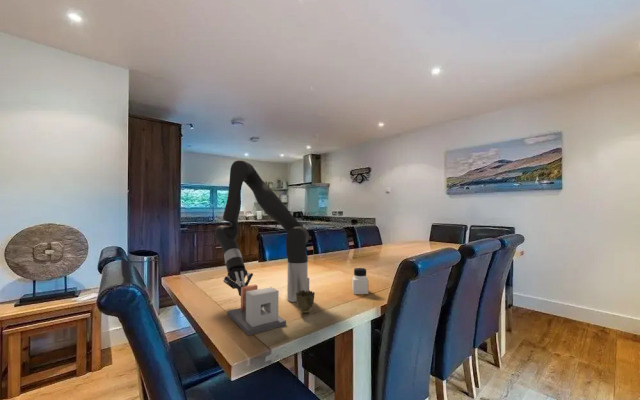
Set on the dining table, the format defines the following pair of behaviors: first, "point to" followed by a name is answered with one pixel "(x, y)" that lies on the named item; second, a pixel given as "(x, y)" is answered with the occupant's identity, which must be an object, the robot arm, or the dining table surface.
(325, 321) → the dining table surface
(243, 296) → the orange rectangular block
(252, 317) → the peg hole fixture
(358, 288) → the medicine bottle
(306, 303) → the cup
